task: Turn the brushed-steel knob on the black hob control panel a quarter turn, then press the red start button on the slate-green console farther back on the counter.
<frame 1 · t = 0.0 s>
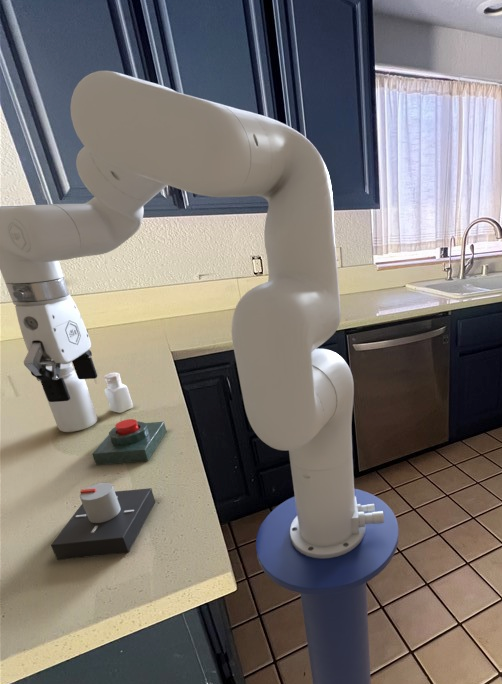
hand: (74, 388, 75), 18 cm above the counter, tool pointing down, fingers open, 9 cm apart
small white square bottle: (122, 410, 109), on the counter
pill bottle: (79, 425, 102), on the counter
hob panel: (110, 528, 69), on the counter
hob knob: (100, 501, 67), point 5 cm above the counter, hinge at 0.0°
console: (133, 447, 92), on the counter
start button: (127, 427, 90), point 5 cm above the counter, slide at 0.1 cm
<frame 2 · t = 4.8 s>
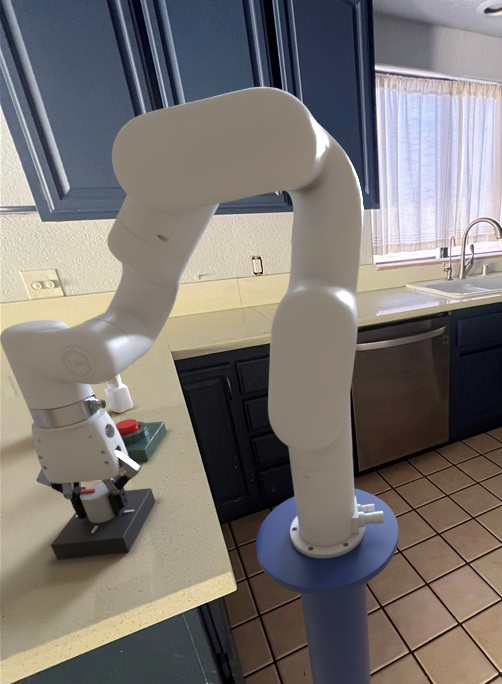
hand: (103, 510, 68), 4 cm above the counter, tool pointing down, fingers closed on hob knob, 4 cm apart
hob knob: (100, 501, 67), point 5 cm above the counter, hinge at 0.0°, touching gripper
everything else where it was.
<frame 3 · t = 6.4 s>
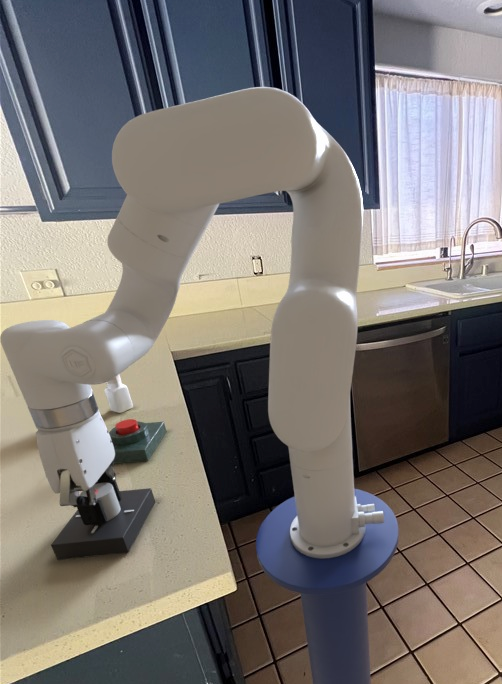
hand: (103, 510, 68), 4 cm above the counter, tool pointing down, fingers closed on hob knob, 4 cm apart
hob knob: (100, 501, 67), point 5 cm above the counter, hinge at 90.0°, touching gripper
everything else where it was.
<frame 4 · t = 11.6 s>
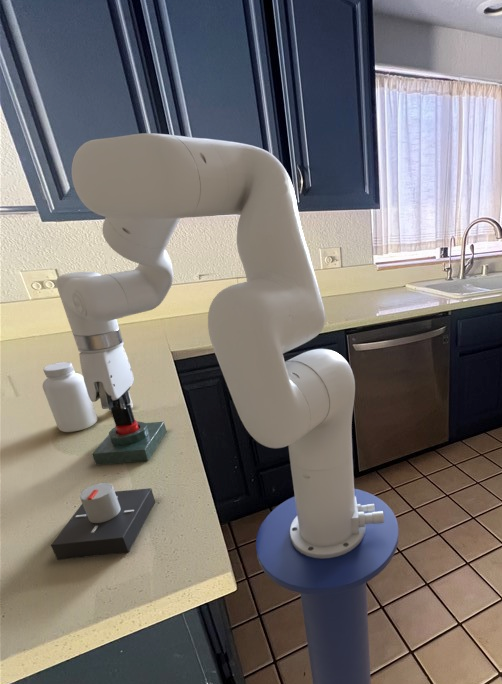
hand: (125, 423, 89), 6 cm above the counter, tool pointing down, fingers closed
hob knob: (100, 501, 67), point 5 cm above the counter, hinge at 89.9°
start button: (127, 427, 90), point 5 cm above the counter, slide at 0.1 cm, touching gripper
everything else where it was.
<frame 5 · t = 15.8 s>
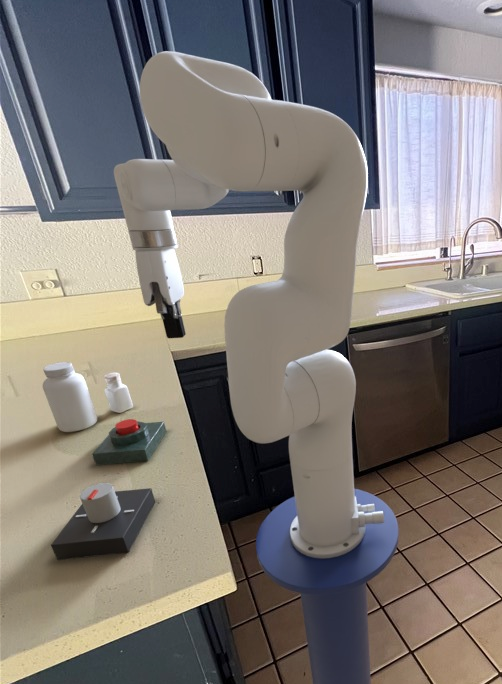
hand: (176, 336, 86), 23 cm above the counter, tool pointing down, fingers closed
start button: (127, 427, 90), point 5 cm above the counter, slide at 0.1 cm
everything else where it was.
at the end: hob knob at +90° (first picture: +0°); start button pushed in 1.1 cm at the most during the clip, back to where it started at the end; start button slide at 0.1 cm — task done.
